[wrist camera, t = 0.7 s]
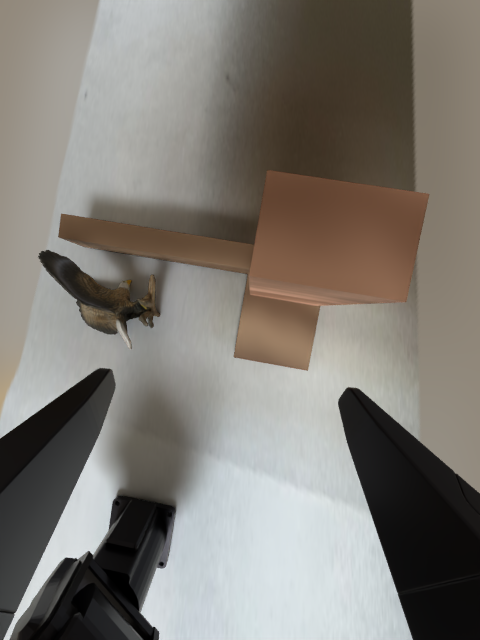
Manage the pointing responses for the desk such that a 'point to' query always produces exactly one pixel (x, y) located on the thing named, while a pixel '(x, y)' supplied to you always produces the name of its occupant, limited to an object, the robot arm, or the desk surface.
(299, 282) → the wooden l-shaped stand
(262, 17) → the desk surface
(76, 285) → the brown squirrel figurine
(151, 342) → the desk surface
